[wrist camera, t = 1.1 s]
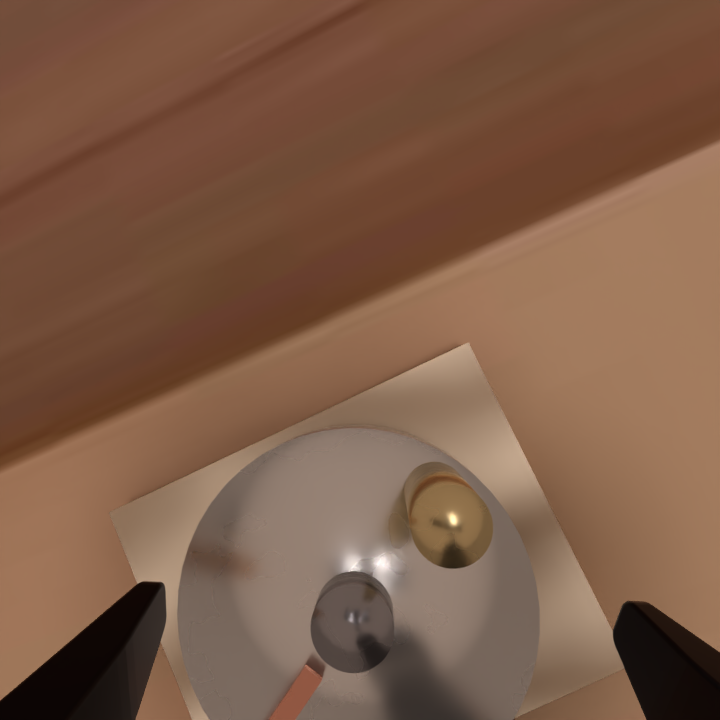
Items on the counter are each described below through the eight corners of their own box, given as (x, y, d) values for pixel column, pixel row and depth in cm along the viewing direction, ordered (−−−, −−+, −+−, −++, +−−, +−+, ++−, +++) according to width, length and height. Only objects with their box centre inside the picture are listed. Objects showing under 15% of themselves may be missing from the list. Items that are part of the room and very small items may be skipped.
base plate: (610, 644, 19) (629, 666, 17) (252, 806, 19) (241, 842, 18) (462, 345, 20) (468, 342, 19) (128, 503, 21) (108, 512, 19)
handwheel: (400, 836, 17) (408, 1062, 11) (134, 624, 18) (21, 733, 13) (589, 551, 18) (691, 631, 12) (317, 362, 19) (288, 350, 13)
